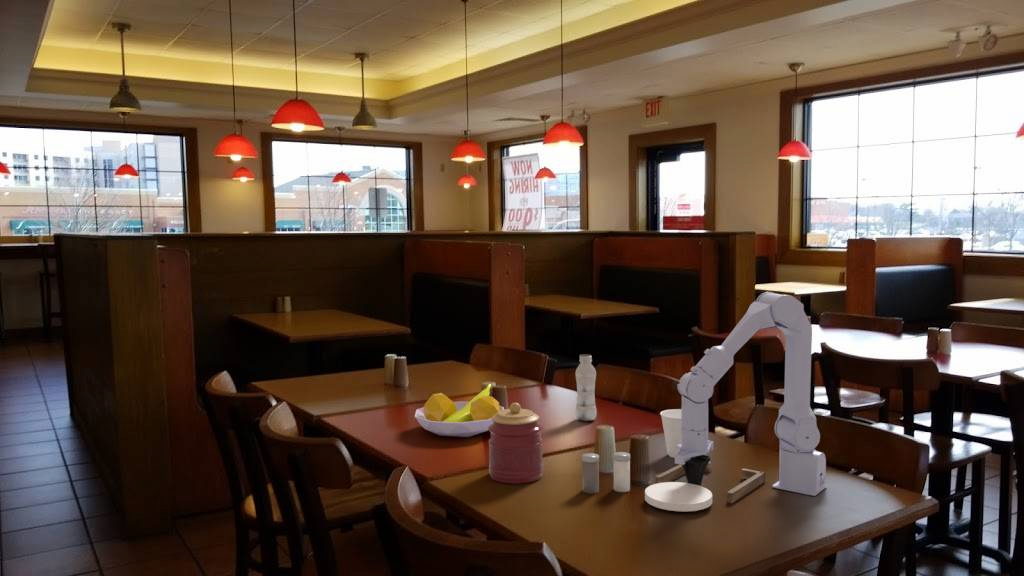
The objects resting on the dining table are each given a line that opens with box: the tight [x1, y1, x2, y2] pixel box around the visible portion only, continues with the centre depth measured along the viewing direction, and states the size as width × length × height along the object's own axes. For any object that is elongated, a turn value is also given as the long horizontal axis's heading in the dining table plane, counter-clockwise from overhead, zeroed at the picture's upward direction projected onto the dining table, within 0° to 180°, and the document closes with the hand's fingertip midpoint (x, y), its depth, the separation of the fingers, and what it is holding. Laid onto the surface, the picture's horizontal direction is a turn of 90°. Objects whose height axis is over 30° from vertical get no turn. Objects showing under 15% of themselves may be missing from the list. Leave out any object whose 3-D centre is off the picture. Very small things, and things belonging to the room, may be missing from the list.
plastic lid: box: [644, 481, 713, 513], centre depth 166 cm, size 14×14×2 cm
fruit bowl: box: [414, 383, 505, 438], centre depth 228 cm, size 28×27×11 cm
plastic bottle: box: [575, 354, 598, 422], centre depth 238 cm, size 6×7×20 cm
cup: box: [659, 408, 681, 459], centre depth 200 cm, size 10×10×11 cm
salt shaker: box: [612, 451, 631, 493], centre depth 175 cm, size 4×4×8 cm
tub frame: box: [654, 461, 766, 504], centre depth 178 cm, size 18×18×2 cm
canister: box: [488, 402, 544, 485], centre depth 186 cm, size 13×13×18 cm
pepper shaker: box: [581, 452, 600, 495], centre depth 175 cm, size 4×4×8 cm
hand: (694, 488), depth 172 cm, fingers closed
